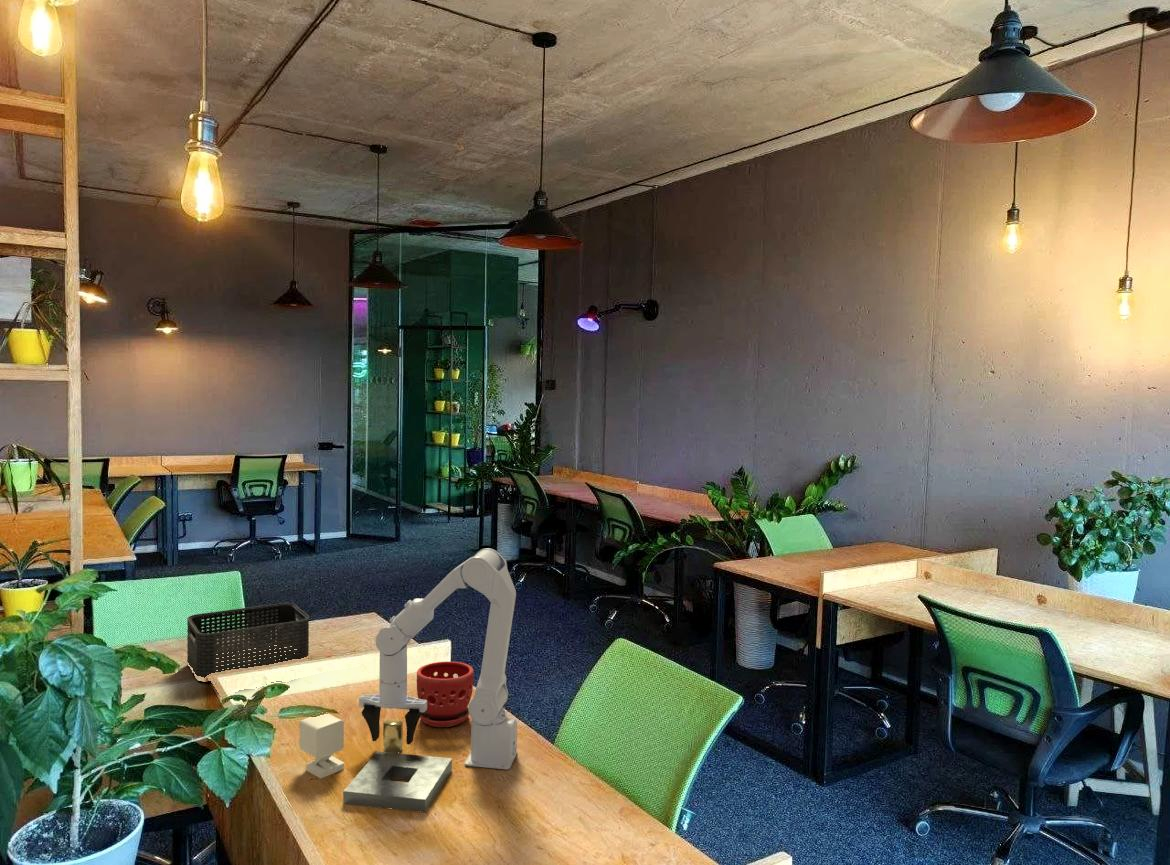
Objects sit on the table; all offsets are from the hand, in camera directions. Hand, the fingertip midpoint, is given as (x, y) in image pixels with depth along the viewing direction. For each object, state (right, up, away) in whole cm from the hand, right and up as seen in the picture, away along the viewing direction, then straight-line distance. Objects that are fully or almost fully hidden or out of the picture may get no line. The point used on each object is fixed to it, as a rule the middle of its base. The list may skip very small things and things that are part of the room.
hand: (392, 740), depth 172 cm
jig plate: (+5, -3, -15) cm, 16 cm away
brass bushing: (0, -2, 0) cm, 2 cm away
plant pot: (+8, -1, +16) cm, 18 cm away
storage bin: (-51, +2, +47) cm, 70 cm away
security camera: (-12, -3, -8) cm, 15 cm away
